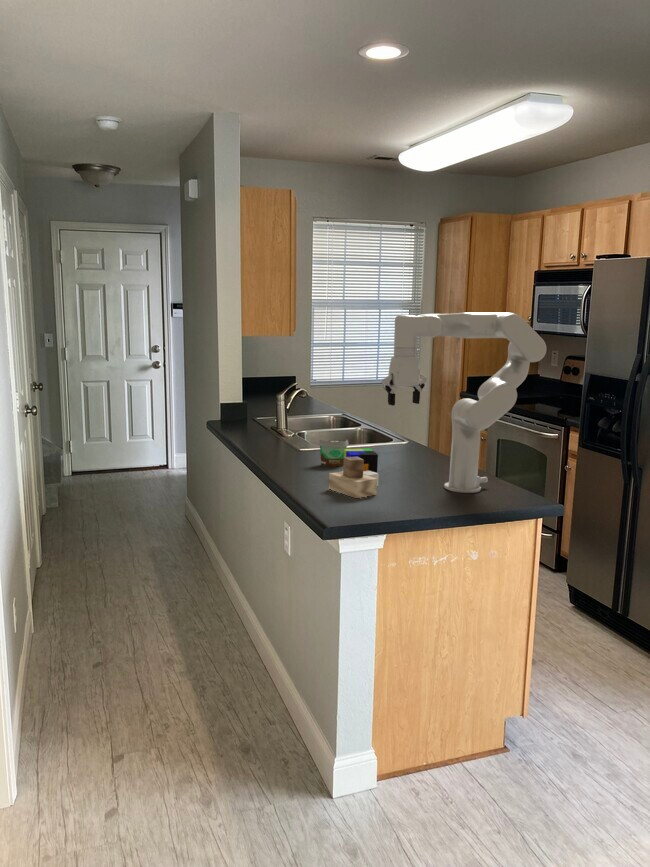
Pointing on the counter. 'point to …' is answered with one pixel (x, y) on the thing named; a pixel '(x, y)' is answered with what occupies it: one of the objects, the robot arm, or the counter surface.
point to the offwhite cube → (372, 475)
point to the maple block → (353, 485)
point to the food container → (332, 452)
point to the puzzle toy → (364, 458)
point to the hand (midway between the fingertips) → (403, 404)
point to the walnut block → (353, 467)
